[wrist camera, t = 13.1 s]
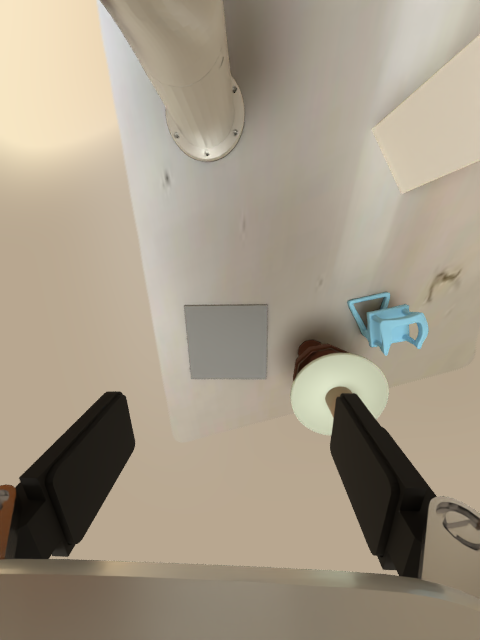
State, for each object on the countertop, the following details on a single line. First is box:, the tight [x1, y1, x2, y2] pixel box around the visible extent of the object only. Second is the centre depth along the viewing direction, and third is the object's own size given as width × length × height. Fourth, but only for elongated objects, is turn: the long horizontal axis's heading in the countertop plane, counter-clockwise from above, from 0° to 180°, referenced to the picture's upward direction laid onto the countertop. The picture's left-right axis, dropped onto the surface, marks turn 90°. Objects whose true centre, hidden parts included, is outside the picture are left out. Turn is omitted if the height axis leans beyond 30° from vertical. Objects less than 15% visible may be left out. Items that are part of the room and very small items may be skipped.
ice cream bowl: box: [293, 340, 348, 381], centre depth 41 cm, size 11×11×15 cm
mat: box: [184, 305, 268, 379], centre depth 48 cm, size 17×17×1 cm
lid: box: [290, 353, 389, 435], centre depth 31 cm, size 14×14×6 cm
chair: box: [347, 292, 428, 355], centre depth 40 cm, size 8×8×12 cm
